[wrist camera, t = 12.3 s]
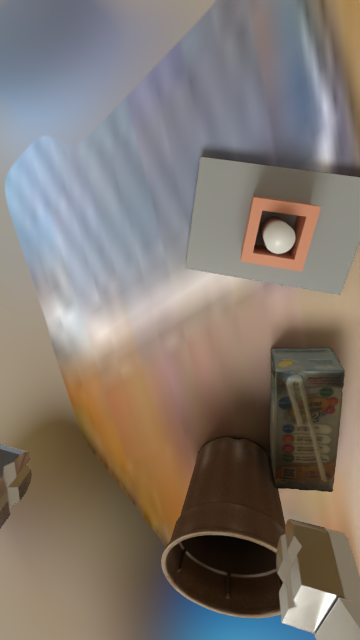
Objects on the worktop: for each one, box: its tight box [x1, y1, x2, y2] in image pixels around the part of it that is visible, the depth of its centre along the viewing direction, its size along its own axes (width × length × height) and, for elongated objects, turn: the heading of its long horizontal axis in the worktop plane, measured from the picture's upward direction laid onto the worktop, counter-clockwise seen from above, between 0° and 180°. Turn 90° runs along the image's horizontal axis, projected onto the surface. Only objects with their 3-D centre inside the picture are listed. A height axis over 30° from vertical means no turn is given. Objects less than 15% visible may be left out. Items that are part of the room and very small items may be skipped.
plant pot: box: [161, 437, 286, 618], centre depth 43 cm, size 16×16×16 cm
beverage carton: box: [270, 348, 344, 492], centre depth 41 cm, size 8×19×7 cm, turn 7°
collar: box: [241, 196, 321, 272], centre depth 31 cm, size 6×6×5 cm
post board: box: [185, 157, 360, 295], centre depth 31 cm, size 18×12×8 cm, turn 83°
